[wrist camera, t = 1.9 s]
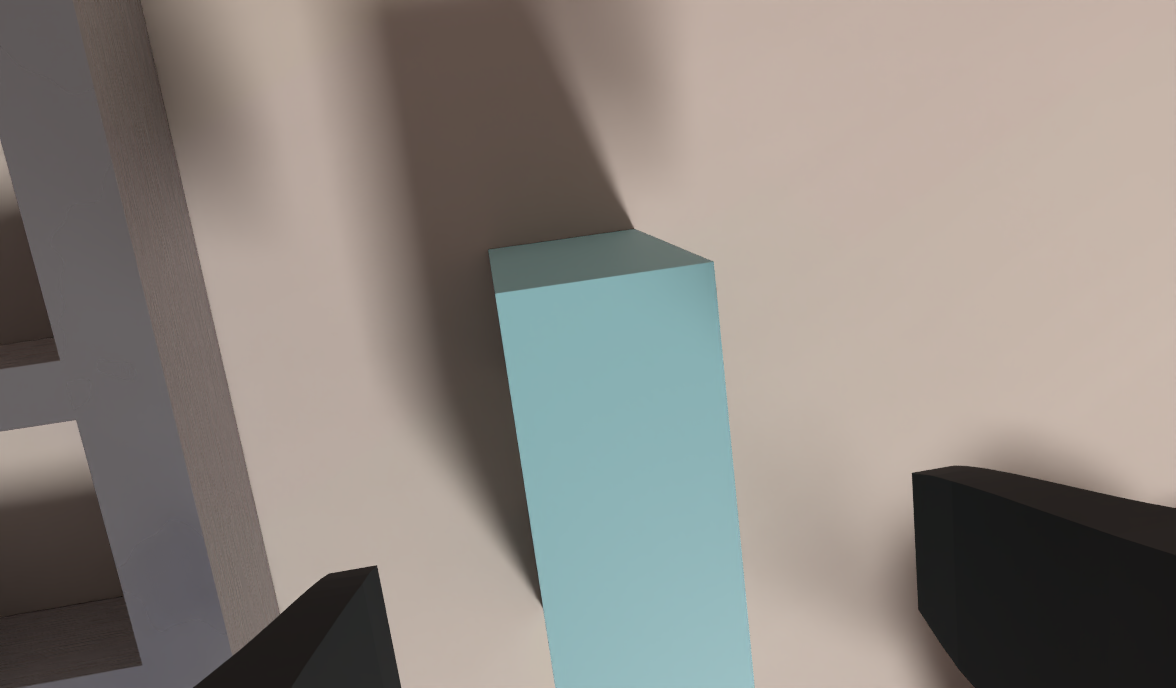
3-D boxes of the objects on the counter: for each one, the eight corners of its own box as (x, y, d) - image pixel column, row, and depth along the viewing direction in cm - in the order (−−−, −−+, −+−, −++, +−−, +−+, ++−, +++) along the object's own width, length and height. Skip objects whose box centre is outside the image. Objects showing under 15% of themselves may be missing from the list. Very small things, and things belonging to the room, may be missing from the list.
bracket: (675, 585, 19) (762, 766, 14) (543, 608, 19) (573, 804, 13) (634, 229, 18) (713, 261, 12) (488, 249, 17) (494, 293, 12)
